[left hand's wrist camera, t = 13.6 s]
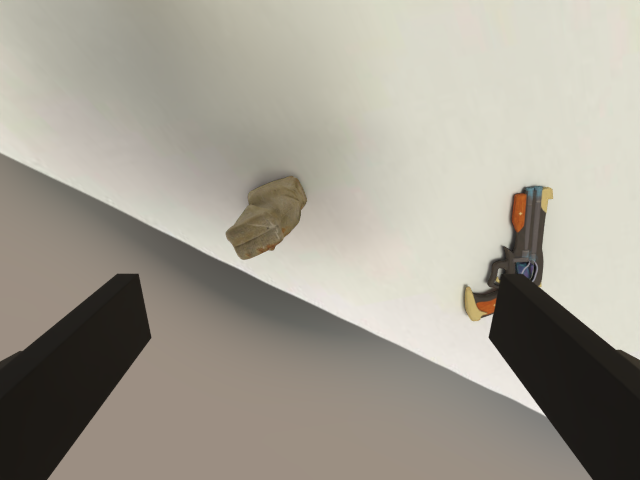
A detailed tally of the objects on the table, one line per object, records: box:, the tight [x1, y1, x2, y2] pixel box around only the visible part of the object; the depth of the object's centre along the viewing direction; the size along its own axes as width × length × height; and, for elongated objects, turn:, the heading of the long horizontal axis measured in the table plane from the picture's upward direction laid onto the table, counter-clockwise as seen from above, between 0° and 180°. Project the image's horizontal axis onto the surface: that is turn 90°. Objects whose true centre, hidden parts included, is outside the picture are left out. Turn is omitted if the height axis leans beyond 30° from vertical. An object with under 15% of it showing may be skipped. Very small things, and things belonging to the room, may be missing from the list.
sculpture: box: [226, 176, 307, 260], centre depth 39 cm, size 6×7×15 cm
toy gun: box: [465, 186, 553, 321], centre depth 48 cm, size 3×19×10 cm
